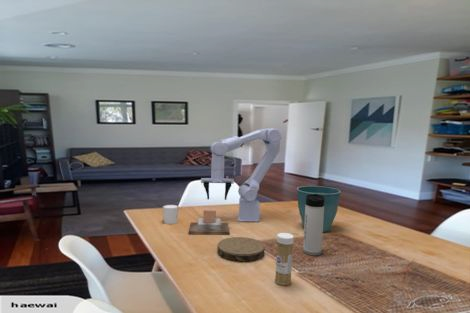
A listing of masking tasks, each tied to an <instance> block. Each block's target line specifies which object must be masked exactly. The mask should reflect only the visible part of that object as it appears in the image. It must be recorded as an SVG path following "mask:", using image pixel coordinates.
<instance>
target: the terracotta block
mask: <svg viewBox="0 0 470 313" xmlns="http://www.w3.org/2000/svg"><path fill="white" fill-rule="evenodd" d="M202 211H203V215H202V216H203V217H202V218H203V223H216V218H217V208H216V207H206V206H205V207H203V210H202Z"/></svg>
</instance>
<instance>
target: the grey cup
mask: <svg viewBox="0 0 470 313" xmlns="http://www.w3.org/2000/svg"><path fill="white" fill-rule="evenodd" d="M162 215H163V223H164V224H166V225H174V224H177V222H178V217H179V205H176V204H165V205H163V206H162Z"/></svg>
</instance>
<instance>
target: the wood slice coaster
mask: <svg viewBox="0 0 470 313" xmlns="http://www.w3.org/2000/svg"><path fill="white" fill-rule="evenodd" d="M216 252H217V255H218V256H219V257H220V258H221V259H223V260H226V261H230V262H233V263H253V262H256V261H260V260H261V259H263V258H264V257H265V244H264V243H263V242H261V241H260V240H259V239H255V238H251V237H245V236H244V237H243V236H242V237H241V236H234V237H227V238H224V239H222V240H221V239H220V240H219V241H218V243H217V251H216Z"/></svg>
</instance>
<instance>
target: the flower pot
mask: <svg viewBox="0 0 470 313" xmlns="http://www.w3.org/2000/svg"><path fill="white" fill-rule="evenodd" d="M296 192H297V207H298V212H299V215H300V218H301V223H302V228H303V229H304V224H305V206H306V196H307V195H312V194H319V195H321V196H323V197H324V198H325V200H324V219H323V233H324V232H330V231H331V230H332V225H333V223H334V221H335V218H336V215H337V213H338V210H339V209H338V208H339V203H340V202H339V201H340V195H341V190H339V189H337V188H333V187H330V186H329V187H328V186H319V185H317V186H316V185H306V186H305V185H303V186H298V187H297V188H296Z"/></svg>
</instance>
